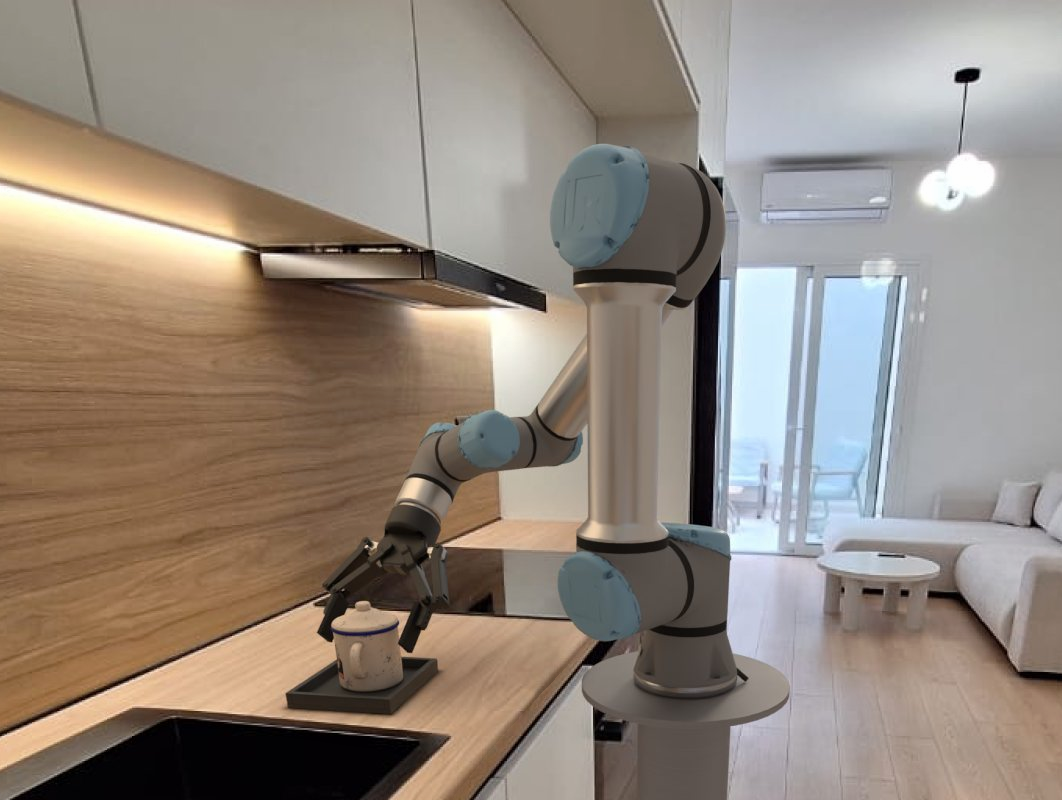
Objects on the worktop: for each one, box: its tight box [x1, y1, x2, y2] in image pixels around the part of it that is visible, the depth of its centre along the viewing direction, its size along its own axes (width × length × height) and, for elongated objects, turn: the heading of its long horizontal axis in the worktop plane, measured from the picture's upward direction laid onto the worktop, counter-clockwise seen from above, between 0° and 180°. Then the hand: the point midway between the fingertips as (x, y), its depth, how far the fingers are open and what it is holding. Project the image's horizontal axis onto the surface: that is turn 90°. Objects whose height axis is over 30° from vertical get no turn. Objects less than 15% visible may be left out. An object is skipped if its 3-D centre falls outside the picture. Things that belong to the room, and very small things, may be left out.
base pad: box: [285, 656, 439, 715], centre depth 114 cm, size 15×17×2 cm
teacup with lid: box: [331, 600, 403, 692], centre depth 112 cm, size 12×9×12 cm
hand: (363, 643), depth 112 cm, fingers open, 13 cm apart
